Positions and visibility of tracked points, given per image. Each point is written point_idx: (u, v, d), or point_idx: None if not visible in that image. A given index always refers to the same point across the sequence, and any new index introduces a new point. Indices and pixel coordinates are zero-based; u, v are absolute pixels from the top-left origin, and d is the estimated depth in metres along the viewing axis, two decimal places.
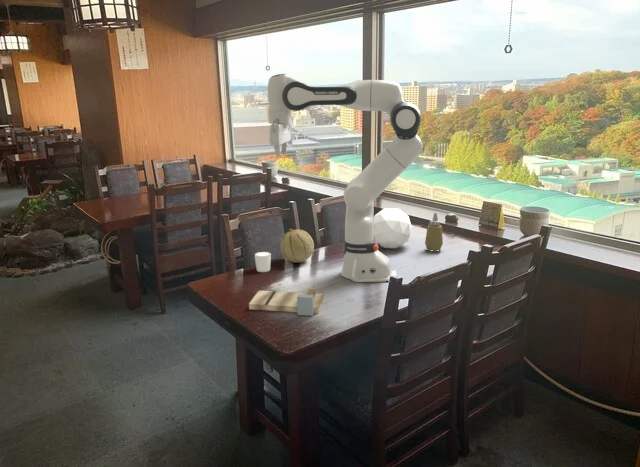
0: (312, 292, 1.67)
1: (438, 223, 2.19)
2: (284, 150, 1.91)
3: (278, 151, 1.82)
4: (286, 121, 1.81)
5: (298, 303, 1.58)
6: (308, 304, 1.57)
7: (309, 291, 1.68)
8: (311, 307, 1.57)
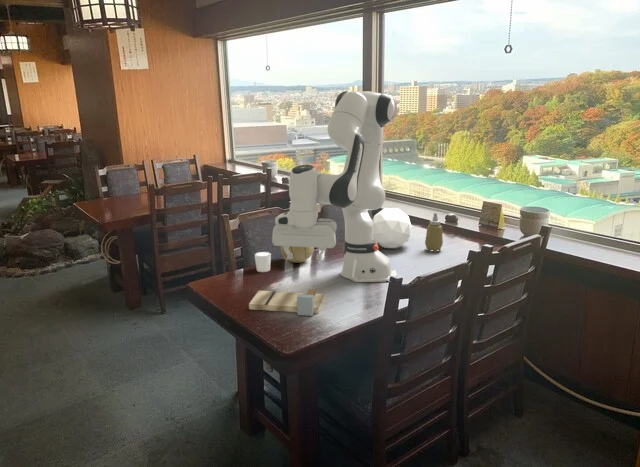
0: (312, 292, 1.67)
1: (438, 223, 2.19)
2: (292, 254, 1.55)
3: None
4: None
5: (298, 303, 1.58)
6: (308, 304, 1.57)
7: (309, 291, 1.68)
8: (311, 307, 1.57)
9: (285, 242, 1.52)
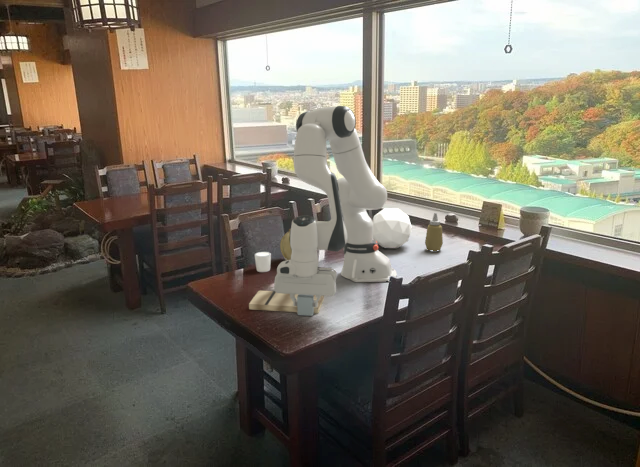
0: None
1: (438, 223, 2.19)
2: None
3: None
4: None
5: (298, 303, 1.58)
6: (308, 304, 1.57)
7: None
8: (311, 307, 1.57)
9: (287, 290, 1.56)
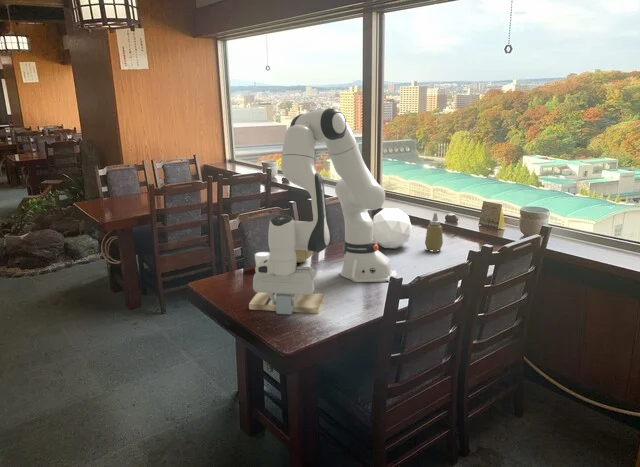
0: None
1: (438, 223, 2.19)
2: None
3: None
4: None
5: (277, 302, 1.59)
6: (287, 303, 1.58)
7: None
8: (290, 306, 1.58)
9: (265, 289, 1.57)
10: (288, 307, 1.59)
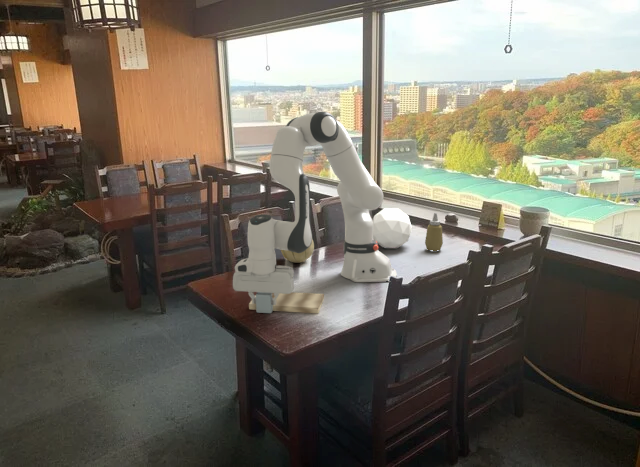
0: None
1: (438, 223, 2.19)
2: None
3: (276, 298, 1.60)
4: None
5: (257, 301, 1.60)
6: (266, 302, 1.59)
7: None
8: (269, 305, 1.59)
9: (245, 288, 1.58)
10: (268, 306, 1.60)
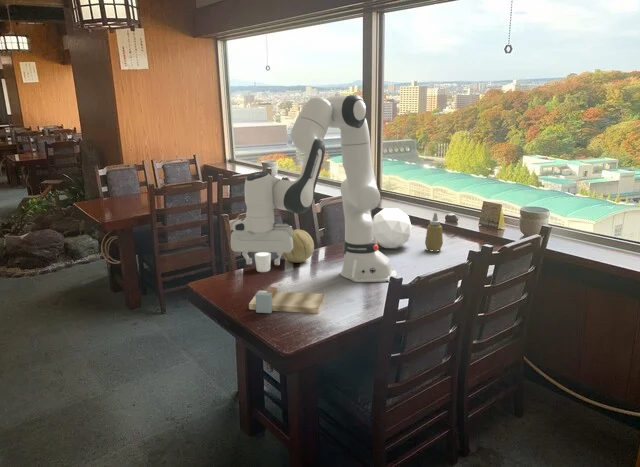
0: (273, 290, 1.70)
1: (438, 223, 2.19)
2: (251, 259, 1.58)
3: None
4: None
5: (256, 301, 1.60)
6: (266, 302, 1.59)
7: (270, 289, 1.71)
8: (269, 305, 1.59)
9: (243, 248, 1.55)
10: (268, 306, 1.60)
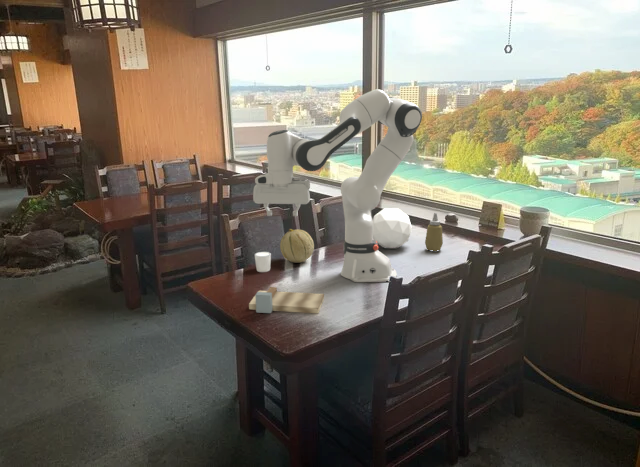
0: (273, 290, 1.70)
1: (438, 223, 2.19)
2: (271, 211, 1.74)
3: (297, 210, 1.72)
4: None
5: (256, 301, 1.60)
6: (266, 302, 1.59)
7: (270, 289, 1.71)
8: (269, 305, 1.59)
9: (265, 200, 1.71)
10: (268, 306, 1.60)
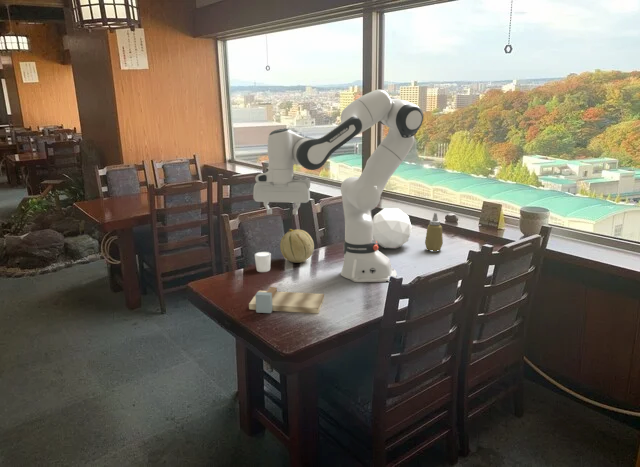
0: (273, 290, 1.70)
1: (438, 223, 2.19)
2: (271, 210, 1.74)
3: (297, 209, 1.72)
4: None
5: (256, 301, 1.60)
6: (266, 302, 1.59)
7: (270, 289, 1.71)
8: (269, 305, 1.59)
9: (265, 198, 1.71)
10: (268, 306, 1.60)
